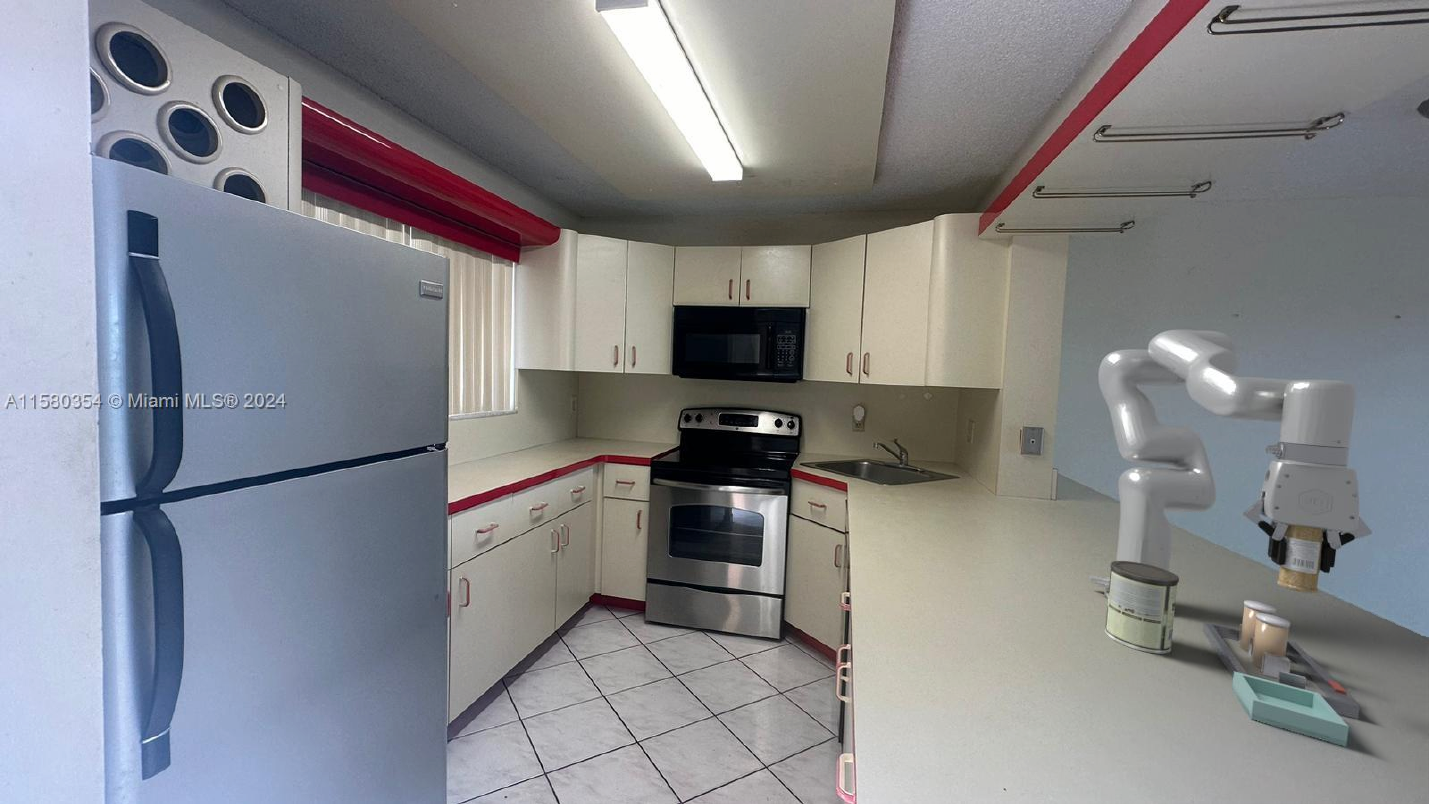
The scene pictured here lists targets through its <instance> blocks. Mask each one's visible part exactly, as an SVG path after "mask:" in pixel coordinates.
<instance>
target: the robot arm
mask: <svg viewBox="0 0 1429 804" xmlns="http://www.w3.org/2000/svg"><path fill="white" fill-rule="evenodd" d="M1236 349H1237V348H1236V344H1235V342H1234V340H1233V339H1232V338H1231V337H1230V336H1229V335H1227V334H1226V333H1223V332H1220V331H1215V330H1193V329H1171V330H1170V329H1169V330H1166V331H1162V332H1160V333H1158V334H1157V335H1155V336H1154V337H1153V338H1151V340H1150V342H1148V347H1147V349H1133V348H1132V349H1131V348H1129V349H1119V350H1115V351H1112V352H1110V353H1108V354H1106V356H1104V358H1103V359H1102V361H1101V362H1100V364H1099V365H1100V366H1099V368H1098V373H1097V374H1098V375H1097V376H1098V378H1097V379H1098V384H1099V385H1098V386H1099V389H1100V392H1101V394H1102V396H1103V398H1104V400H1105V402H1106V404H1107V406H1108V409H1109V413H1110V417H1111V423H1112V428H1113V433H1114V436H1115V441H1116V442H1115V443H1116V445H1117V449H1118V452H1119V454H1120V455H1121V457H1122V459H1124V460H1125V461H1128V462H1130V463H1134V464H1135V463H1136V464H1145V465H1155V466H1157V465H1158V466H1168V468H1167V467H1152V466H1137V467H1132V468H1129V469H1126V470H1124V471H1123V472H1122V473H1121V475H1120V477H1119V479H1118V483H1117V484H1118V487H1117V489H1118V494H1119V495H1118V497H1119V505H1120V511H1119V512H1120V513H1119V514H1120V515H1119V526H1118V527H1119V528H1118V541H1117V550H1116V560H1115V561H1130V562H1137V563H1143V564H1147V565H1151V566H1155V567H1158V568H1162V569H1164V570H1167V571H1169V572H1170V567H1171V557H1172V549H1173V542H1174V541H1173V539H1174V531H1173V527H1172V525H1171V523H1170V522H1169V519H1168V518H1167V517H1166V515H1165V512H1170V511H1171V512H1181V513H1182V512H1184V513H1204V512H1207V511H1209V510H1210V509H1211V508H1212V507H1213V506H1214V505H1215V502H1216V500H1217V499H1216V498H1217V490H1216V489H1217V488H1216V483H1215V481H1214V475H1213V471H1212V469H1211V466H1210V462H1209V459H1208V455H1207V452H1206V451H1207V450H1206V448H1205V445H1204V442H1203V440H1202V439H1201V437H1200V436H1199V435H1198V434H1197V432H1195V431H1194V430H1192V429H1191V428H1188V427H1186V426H1181V425H1172V424H1171V425H1170V424H1163V423H1161V422H1160V421H1159V420H1158V416H1157V414H1156V409H1155V405H1154V403H1153V402H1152V401H1151V400H1150V399H1149V397H1148V396H1147V395H1146V394H1145V393H1144V392H1143V391H1141V390H1140V389H1139V387H1137V385H1138V386H1151V387H1152V386H1154V387H1155V386H1156V387H1179V386H1184V385H1185V386H1186V390H1187V393H1188V395H1189V397H1190V398H1191V400H1192V401H1193V402H1195V403H1196V404H1198V405H1200V406H1201V407H1203V408H1204V409H1205V410H1208V411H1209V412H1211V413H1213V414H1215V415H1218V416H1220V417H1223V418H1226V419H1232V420H1242V421H1243V420H1244V421H1248V420H1249V421H1262V422H1263V421H1264V422H1272V423H1273V422H1274V423H1280V432H1279V440H1278V441H1277V443H1276V444H1273V445H1271V444H1270V445H1269V444H1267V445H1266V447H1265V452H1266V454H1272V455H1274V456H1275V458H1277V459H1276V460H1271V461H1270V464H1269V466H1268V468H1267V471H1266V473H1265V477H1264V479H1263V484H1262V488H1261V492H1260V497H1259V500H1257V501H1256V502H1255V503H1254V504H1253V505H1251V506H1250V507H1249V508H1247V509H1246V510H1244V512H1243V513H1242V516H1244V517H1245V518H1246V519H1248V520H1249V521H1251V522H1252V523H1253V524H1254V525H1256V526H1257V527H1259V529H1261V530H1262V531H1263V532H1264V533H1265V534H1266V536H1268V547H1267V556H1268V558H1270V559H1271V561H1272V562H1273V563H1275V564H1276V565H1277V566H1280V565H1284V563H1285V554H1286V546H1287V543H1286V542H1285V541H1284V537H1283V536H1284V534H1285V532H1286V530H1287V528H1288V526H1289V524H1290V525H1297V526H1304V527H1311V528H1318V529H1323V538H1322V549H1321V564H1320V572H1323V573H1326V574H1330V572H1331V568H1335V564H1336V555H1337V550H1340V549H1341V548H1342V547H1343V546H1345V545H1346V544H1349V543H1350V542H1353V541H1354V540H1356V539H1360V538H1363V537H1367V536H1370V535H1371V534H1372V533H1373V532H1372V530H1371V528H1370V527H1369V526H1368V525H1367V524H1366V522H1365V521H1364V520H1363V519H1362V518H1361V517H1360V494H1359V493H1360V490H1359V481H1358V480H1359V479H1358V476H1357V471H1356V469H1355V468H1350V467H1348V463H1349V462H1348V461H1349V456H1350V455H1349V454H1350V446H1351V437H1352V428H1353V420H1354V412H1355V405H1356V395H1357V390H1356V388H1355V386H1354V384H1352V383H1351V382H1348V381H1344V380H1334V379H1332V380H1329V379H1285V378H1283V379H1281V378H1268V377H1253V376H1251V377H1250V376H1248V377H1247V376H1237V375H1236V373H1237V371H1238V369H1239V359H1238V357H1237V355H1236V353H1237V351H1236ZM1260 515H1261V516H1264V517H1266V518H1268V519H1269V520H1270V521H1271V522H1267V521H1266V520H1264V519H1263V518H1261V517H1260ZM1089 583H1090V584H1095V585H1096V586H1097V587H1100V588H1104V596H1105V597H1106V598H1107V599H1108V595H1109V584H1110V576H1106V577H1101V576H1099V575H1094V574H1090V575H1089Z"/></svg>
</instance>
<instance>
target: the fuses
mask: <svg viewBox="0 0 1429 804" xmlns="http://www.w3.org/2000/svg"><path fill="white" fill-rule="evenodd" d="M1276 611H1277V608H1276V607H1274V606H1272V605H1269V604H1266V603H1264V602H1260V601H1254V600H1250V599H1249V600H1247V599H1246V600H1244V602H1243V615H1242V616H1243V617H1242V623H1241V624H1242V631H1241V640H1240V642H1239V648H1240V649H1242V650H1243V651H1245V652H1248V653H1249V646H1250V637H1254V645H1253V654H1252V657H1251V664H1252V665H1254V666H1256V667H1257V668H1259V669H1262V660H1263V652H1266V653H1270V654H1274V655H1278V656H1283V657H1287V656H1286V654H1287V652H1286V647H1287V641H1288V638H1289V632H1290V630H1289V629H1290V627H1291V621H1289V620H1287V619H1286V618H1282V617H1280V616H1277V615H1275V613H1276Z"/></svg>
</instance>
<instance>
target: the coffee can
mask: <svg viewBox="0 0 1429 804" xmlns="http://www.w3.org/2000/svg"><path fill="white" fill-rule="evenodd" d="M1109 575H1110V576H1109V577H1110V584H1109V595H1108V598H1107V609H1106V618H1105V619H1106V620H1105V628H1104V633H1105V635H1106V636H1107V637H1108V638H1110V639H1111V640H1113V641H1114V642H1116V643H1117V644H1119V645H1123V646H1124V647H1128V648H1131V649H1133V650H1137V651H1141V652H1145V653H1149V654H1150V653H1151V654H1156V655H1157V654H1158V655H1165V654H1169V653H1170V652H1172V642H1173V641H1172V639H1173V631H1174V621H1175V609H1176V603H1177V594H1178V593H1177V592H1178V583H1179V582H1180V577H1179V576H1178V575H1177V574H1175V573H1174V572H1171V571H1170V570H1169V571H1167V570H1164V569H1162V568H1158V567H1155V566H1151V565H1147V564H1143V563H1137V562H1130V561H1116V560H1114V561H1112V562H1110V574H1109Z"/></svg>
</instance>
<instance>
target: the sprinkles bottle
mask: <svg viewBox="0 0 1429 804" xmlns="http://www.w3.org/2000/svg"><path fill="white" fill-rule="evenodd" d="M1283 537H1284V541H1285V542H1286V543H1287V546H1286V554H1285V563H1284V565H1279V570H1278V571H1279V572H1278V580H1277V584H1278V585H1279V586H1281V587H1283V588H1286V589H1289V590H1292V591H1295V592H1299V593H1305V594H1317V593H1318V592H1319V588H1318V586H1319V585H1318V583H1319V575H1320V572H1321V570H1320V564H1321V549H1322V538H1323V529H1318V528H1311V527H1304V526H1297V525H1290V524H1289V526H1288V528H1287V530H1286V532H1285V534H1284V536H1283Z"/></svg>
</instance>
